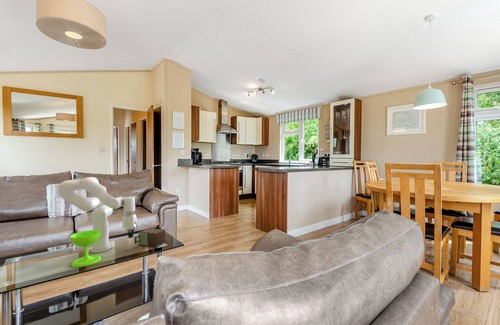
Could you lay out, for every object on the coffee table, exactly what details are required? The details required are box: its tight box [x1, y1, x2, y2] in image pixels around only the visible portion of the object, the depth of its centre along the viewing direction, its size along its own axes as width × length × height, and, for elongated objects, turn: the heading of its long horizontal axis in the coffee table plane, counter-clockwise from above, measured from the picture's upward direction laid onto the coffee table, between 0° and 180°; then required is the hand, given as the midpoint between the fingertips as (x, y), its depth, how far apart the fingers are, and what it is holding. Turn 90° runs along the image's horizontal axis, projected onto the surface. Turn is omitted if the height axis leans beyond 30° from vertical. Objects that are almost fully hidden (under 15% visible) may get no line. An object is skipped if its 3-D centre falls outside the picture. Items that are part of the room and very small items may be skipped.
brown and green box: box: [137, 227, 166, 249], centre depth 175 cm, size 16×12×10 cm
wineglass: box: [69, 229, 102, 268], centre depth 146 cm, size 16×16×18 cm
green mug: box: [133, 232, 148, 246], centre depth 169 cm, size 8×6×9 cm
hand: (130, 237), depth 170 cm, fingers closed
